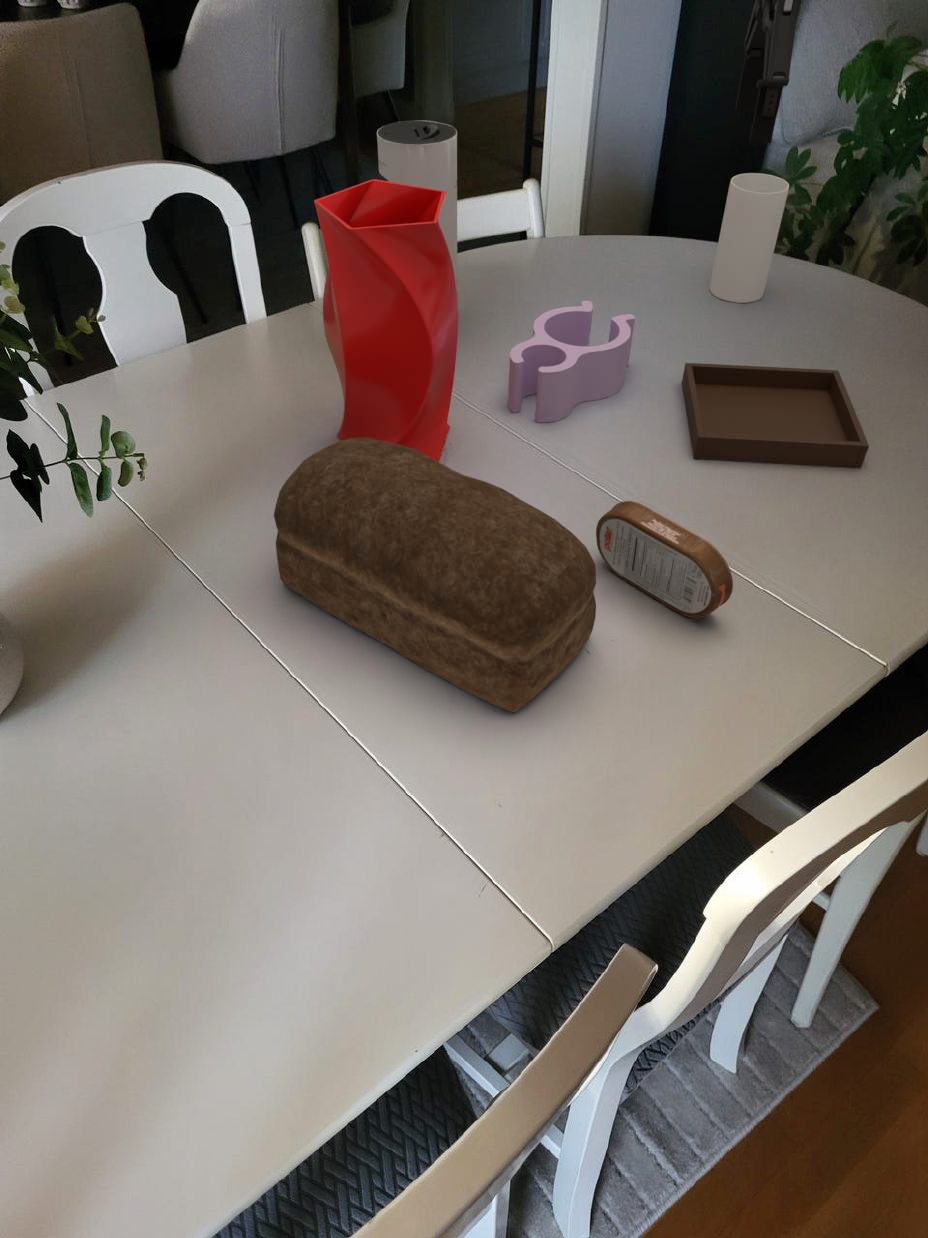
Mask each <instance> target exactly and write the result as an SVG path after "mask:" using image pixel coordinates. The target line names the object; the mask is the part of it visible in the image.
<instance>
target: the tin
mask: <svg viewBox="0 0 928 1238" xmlns="http://www.w3.org/2000/svg"><path fill="white" fill-rule="evenodd" d="M595 537H596V546H597V550H598V553H599V554H600V556H601V558H602V560H603V561H604V563H605V564H606V565H607V566H608V567H609V569H610V570H611V571H612V572H613V573H614V574H615V575H617V576H618V577H619V578H621V579H622V580H624V581H626V582H628V583H629V584H631V585H632V586H634V587H635V588H637V589H639V590H640V591H642V592H643V593H645V594H647V595H648V596H650V597H652V598H653V599H655V600H656V601H658V602H660V603H661V604H663V605H664V606H666V607H668V608H669V609H671V610H672V611H674V612H675V613H677V614H679V615H681V616H684V617H688V618H691V619H699V618H704V617H707V616H709V615H710V614H712V613H714V612H715V611H716V610H718V608H720V606H723V605H724V604H726V603H727V602H728V600H729V599H730V598H731V596H732V593H733V590H734V579H733V576H732V575H733V574H732V572H731V569H730V566H729V563H728V562H727V561H726V559H725V557H724V556H723V555H722V553H721V552H720V551H719V550H718V549H717V547H715V545H713V544H712V543H711V542H709V541H708V540H706V539H704V538H702V537H701V536H699V535H698V534H696V533H694V532H692V531H690V530H689V529H687V528H686V527H683V526H681V525H680V524H678V523H676V522H674V521H672V520H671V519H669V518H668V517H665V516H663V515H662V514H660V513H658V512H657V511H655V510H653V509H652V508H650V507H648V506H646V505H644V504H643V503H641V502H637V501H632V500H625V501H620V502H618V503H617V504H615V505H614V506H613V507H612V508H611V509H610V510H608V511H607V512H606V513H604V514H603V515H602V516H601V517H600V519H598V521H597V524H596V529H595Z"/></svg>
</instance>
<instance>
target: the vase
mask: <svg viewBox="0 0 928 1238" xmlns="http://www.w3.org/2000/svg"><path fill="white" fill-rule="evenodd" d="M445 194H446V191H442V190H436V189H429V188H423V187H418V186H412V185H406V184H400V183H394V182H389V181H383V180H379V179H376V178H374V179H373V178H372V179H370V180H369V179H368V180H367V181H364V182H362V183H358V184H356V185H353V186H350V187H347V188H344V189H342V190H339V191H336V192H334V193H331V194H328V195H325V196H323V197H320V198H317V199H314V200H313V202H314V206H315V210H316V213H317V214H316V215H317V218H318V223H319V227H320V232H321V235H322V240H323V245H324V251H325V253H326V258H327V263H328V268H327V273H326V278H325V283H324V289H323V297H322V298H323V299H322V321H323V329H324V334H325V339H326V343H327V346H328V348H329V351H330V354H331V357H332V359H333V363H334V365H335V368H336V371H337V374H338V377H339V381H340V385H341V386H340V387H341V391H342V397H343V416H342V421H341V424H340V428H339V430H338V432H337V434H336V437H337V438H338V440H339V441H342V440H346V439H350V438H372V439H376V440H380V441H384V442H389V443H394V444H398V445H402V446H406V447H409V448H412V449H415V450H418V451H419V452H421V453H423V454H425V455H427V456H428V457H430V458H432V459H434V460H436V461H438V462H439V463H440V462H441V461H440V460H441V457H442V455H443V454H442V453H443V450H444V447H445V445H446V444H445V443H446V440H447V438H448V435H449V432H450V430H451V429H450V428H451V426H450V425H449V423H448V419H449V413H450V407H451V402H452V395H453V389H454V388H453V387H454V380H455V371H456V363H457V350H458V333H459V331H458V329H459V308H458V307H459V306H458V307H457V292H456V283H455V276H454V270H453V265H452V260H451V256H450V253H449V249H448V246H447V243H446V240H445V238H444V235H443V233H442V230H441V227H440V222H439V214H440V209H441V206H442V203H443V200H444V197H445Z"/></svg>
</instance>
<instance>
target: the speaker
mask: <svg viewBox="0 0 928 1238" xmlns="http://www.w3.org/2000/svg"><path fill="white" fill-rule="evenodd" d="M376 141H377V160H378V162H377V163H378V180H383V181H389V182H394V183H400V184H406V185H412V186H418V187H423V188H429V189H436V190H442V191H446V194H445V197H444V200H443V203H442V206H441V209H440V214H439V222H440V227H441V230H442V233H443V235H444V238H445V240H446V243H447V246H448V249H449V253H450V256H451V260H452V265H453V270H454V276H455V283H456V292H457V307H459V304H458V303H459V299H458V296H459V295H458V294H459V293H458V292H459V291H458V290H459V289H458V131H457V129H456V128H455V127H454V126H452V125H450V124H447V123H443V122H437V121H434V120H424V119H423V120H422V119H421V120H402V121H396V122H391V123H388V124H385V125H383V126H381V127H380V128H378V129H377V131H376Z"/></svg>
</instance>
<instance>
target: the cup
mask: <svg viewBox="0 0 928 1238" xmlns="http://www.w3.org/2000/svg"><path fill="white" fill-rule="evenodd" d="M789 190H790V184H789V183H788V181H787V180H785V179H783V178H781V177H779V176H776V175H772V174H767V173H758V172H747V173H740V174H736V175H734V176H733V177H731V179H730V182H729V186H728V190H727V191H728V192H727V195H726V201H725V205H724V206H725V207H724V212H723V217H722V221H721V227H720V232H719V238H718V241H717V242H718V243H717V247H716V251H715V252H716V253H715V256H714V262H713V267H712V273H711V277H710V281H709V282H710V283H709V288H708V289H709V292H710V293H711V295H713V296H715V297H716V298H718V299H720V300H723V301H726V302H729V303H736V304H737V303H739V304H746V303H753V302H757V301H759V300H761V299H762V298H763V297H764V294H765V290H766V286H767V281H768V277H769V274H770V269H771V265H772V261H773V256H774V253H775V248H776V245H777V240H778V236H779V232H780V228H781V224H782V219H783V216H784V215H783V214H784V211H785V207H786V203H787V199H788V194H789Z"/></svg>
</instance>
